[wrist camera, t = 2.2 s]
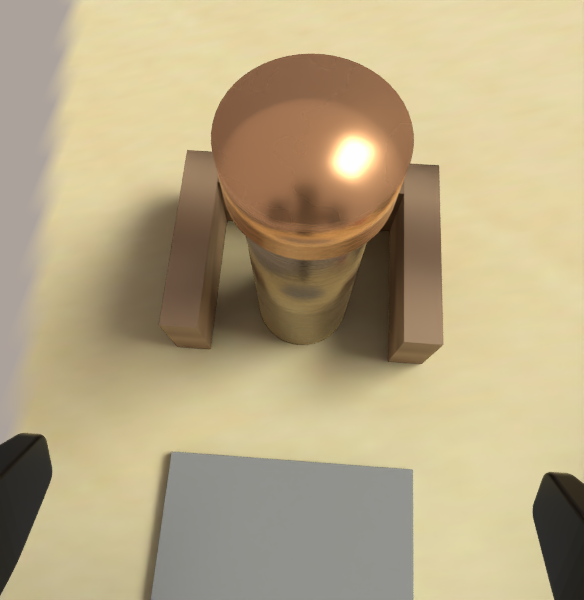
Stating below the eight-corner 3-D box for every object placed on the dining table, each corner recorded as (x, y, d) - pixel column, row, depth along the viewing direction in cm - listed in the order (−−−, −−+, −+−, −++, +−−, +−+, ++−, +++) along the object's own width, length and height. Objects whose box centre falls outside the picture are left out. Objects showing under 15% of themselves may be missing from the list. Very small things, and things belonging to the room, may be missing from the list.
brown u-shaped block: (421, 363, 23) (443, 344, 20) (177, 346, 23) (158, 325, 20) (420, 205, 26) (438, 165, 22) (200, 191, 26) (187, 150, 23)
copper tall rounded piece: (303, 375, 23) (313, 265, 11) (229, 302, 24) (169, 133, 12) (375, 303, 24) (455, 133, 12) (302, 236, 25) (310, 23, 13)
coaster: (411, 764, 18) (413, 770, 18) (133, 740, 19) (130, 745, 18) (410, 469, 22) (412, 469, 21) (173, 452, 22) (171, 451, 22)
